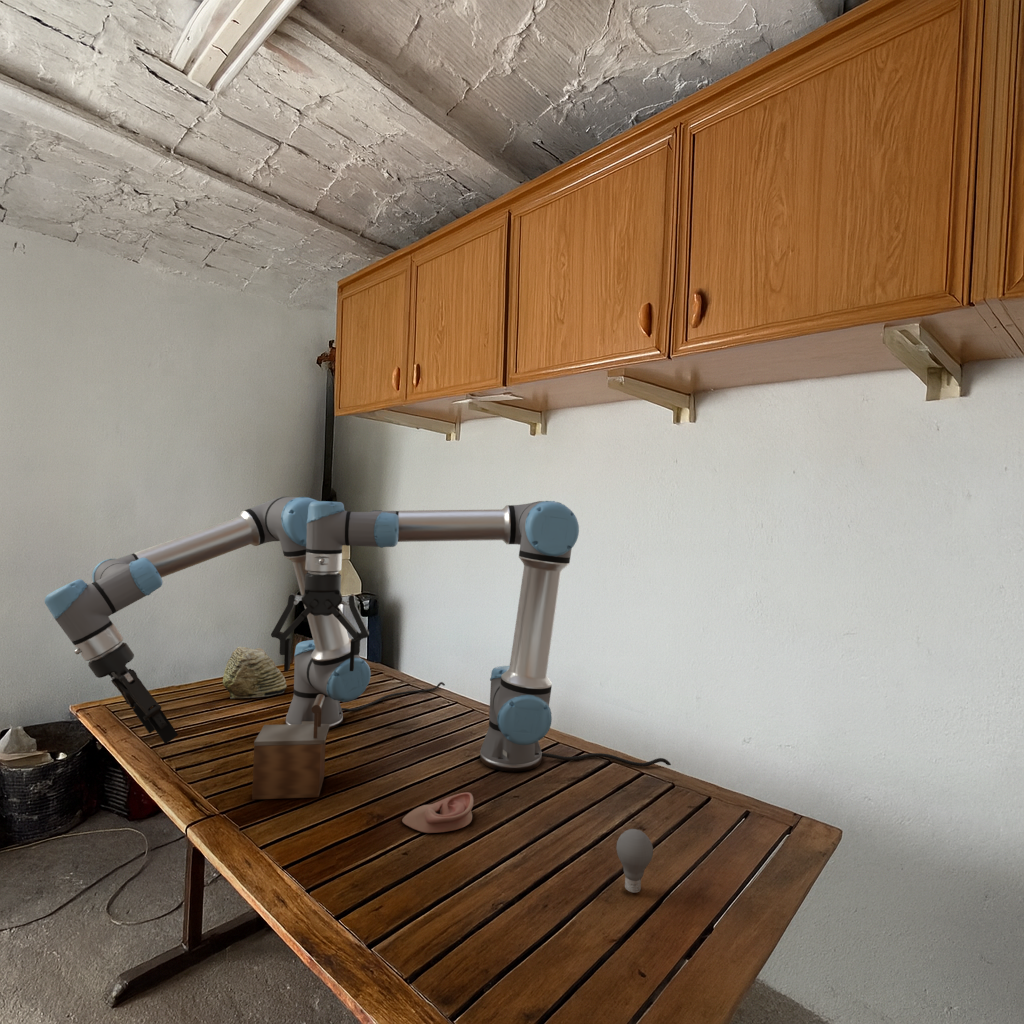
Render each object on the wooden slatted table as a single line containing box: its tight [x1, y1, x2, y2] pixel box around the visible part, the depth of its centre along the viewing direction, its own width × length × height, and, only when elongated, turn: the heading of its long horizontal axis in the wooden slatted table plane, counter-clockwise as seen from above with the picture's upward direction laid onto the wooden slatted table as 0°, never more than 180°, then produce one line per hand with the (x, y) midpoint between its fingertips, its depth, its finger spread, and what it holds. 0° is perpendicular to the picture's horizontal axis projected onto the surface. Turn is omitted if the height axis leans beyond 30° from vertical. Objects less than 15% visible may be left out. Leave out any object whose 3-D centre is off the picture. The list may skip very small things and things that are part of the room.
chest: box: [251, 740, 327, 800], centre depth 137 cm, size 13×10×11 cm
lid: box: [253, 694, 330, 747], centre depth 137 cm, size 14×10×8 cm
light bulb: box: [615, 828, 654, 894], centre depth 106 cm, size 6×6×10 cm
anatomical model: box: [401, 791, 474, 834], centre depth 126 cm, size 13×4×12 cm
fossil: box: [222, 646, 288, 699], centre depth 198 cm, size 9×18×15 cm, turn 132°
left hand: (163, 734), depth 134 cm, fingers open, 13 cm apart
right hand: (319, 669), depth 138 cm, fingers open, 13 cm apart
